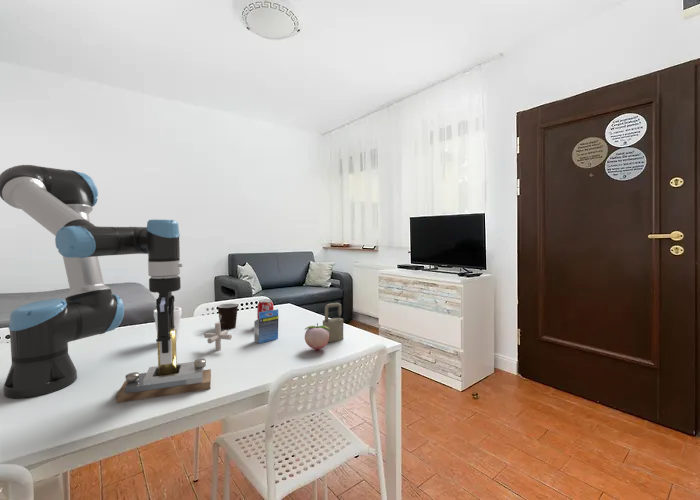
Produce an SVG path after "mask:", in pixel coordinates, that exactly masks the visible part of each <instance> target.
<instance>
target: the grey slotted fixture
mask: <svg viewBox="0 0 700 500" xmlns="http://www.w3.org/2000/svg"><path fill="white" fill-rule="evenodd" d="M206 363H207V360H206V359H205V358H198V359H195V360H194V361H189V362H182V363H177V374H170V375H163V376H159V374H158V365H155V366H149V368H148V370H147V372H137V371H135V372H130V373H128V374H126V375H125V380H126V383H128V384H127V386H126V388H125V391H126V394H127V393H134V392H141V391H148V390H155V389H162V388H168V387H175V386H182V385H189V384H196V383H202V381H203V371H204V370H205V369H204V368H206V366H207V364H206Z"/></svg>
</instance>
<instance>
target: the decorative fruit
mask: <svg viewBox="0 0 700 500" xmlns="http://www.w3.org/2000/svg"><path fill="white" fill-rule="evenodd" d="M327 329H329V328H328V327H326V326H323V325H319V324H318V322H317V323H316V325H309V326H307V327H305V328H304V329H303V330H304V331H305V330H306V331H305V333H304V341H305V343H306V345H307V346H308V347H309V348H311V349H313V350H316V351H318V350H321V349H322V348H323V349H324V347H326V346H327V345H328V344H329V342H328V341H329V331H328V330H327ZM329 330H330V329H329Z"/></svg>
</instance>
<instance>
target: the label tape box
mask: <svg viewBox="0 0 700 500" xmlns="http://www.w3.org/2000/svg"><path fill="white" fill-rule="evenodd" d="M268 313H270V314H271V313H272V315H268V316H266V314H268ZM253 324H254V326H253V328H254V329H253V331H254V332H253V335H254V337H253V338H254V340H253V341H254V342H255V343H257V344H263V343H266V342H269V341H274V340H278V339H279V309H278V308H277V309H273V310H271V311H265V312H259V319H258V320H257V319H256V320H254V323H253Z"/></svg>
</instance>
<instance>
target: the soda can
mask: <svg viewBox="0 0 700 500" xmlns="http://www.w3.org/2000/svg"><path fill="white" fill-rule="evenodd" d="M256 308H257V311H256V312H257V313H256V314H257V317H256V318H257V319H256V320H258V319H259V312H265V311H271V310H274V303H273V300H272V299H266V298H265V299H260V300H258V304H257V307H256ZM268 315H272V313H271V314H270V313H268V314H266V316H268Z"/></svg>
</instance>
